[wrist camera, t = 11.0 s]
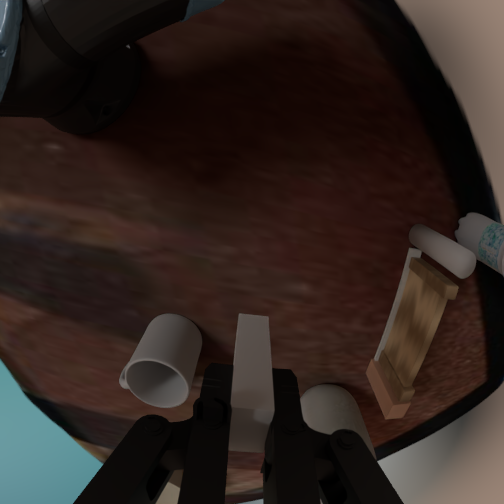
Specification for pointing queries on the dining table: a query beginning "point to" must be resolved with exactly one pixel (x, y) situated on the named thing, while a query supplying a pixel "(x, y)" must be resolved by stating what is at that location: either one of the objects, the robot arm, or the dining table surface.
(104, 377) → the dining table surface
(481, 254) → the bottle
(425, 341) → the gate
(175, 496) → the bowl
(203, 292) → the dining table surface
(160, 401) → the mug
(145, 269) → the dining table surface
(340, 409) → the white tapered flask
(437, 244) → the fence
